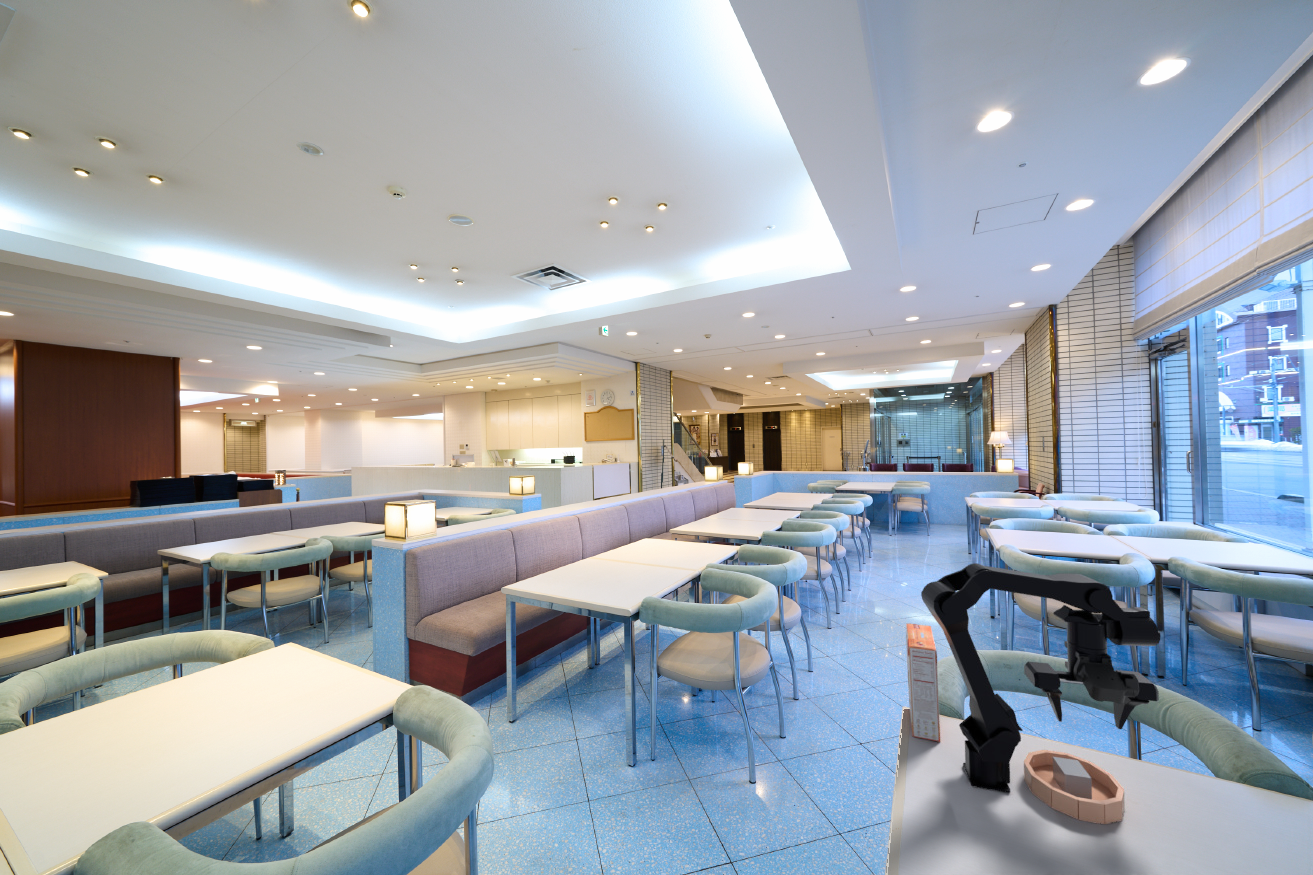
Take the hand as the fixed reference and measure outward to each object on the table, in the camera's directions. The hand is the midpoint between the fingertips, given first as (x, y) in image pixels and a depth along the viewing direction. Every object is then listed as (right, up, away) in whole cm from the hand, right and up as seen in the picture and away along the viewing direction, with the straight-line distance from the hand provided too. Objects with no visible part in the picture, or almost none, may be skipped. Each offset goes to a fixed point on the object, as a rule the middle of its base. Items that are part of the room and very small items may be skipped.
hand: (1088, 724), depth 93 cm
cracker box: (-20, -13, +22) cm, 32 cm away
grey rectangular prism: (-4, -11, -1) cm, 12 cm away
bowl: (-4, -12, -1) cm, 13 cm away
